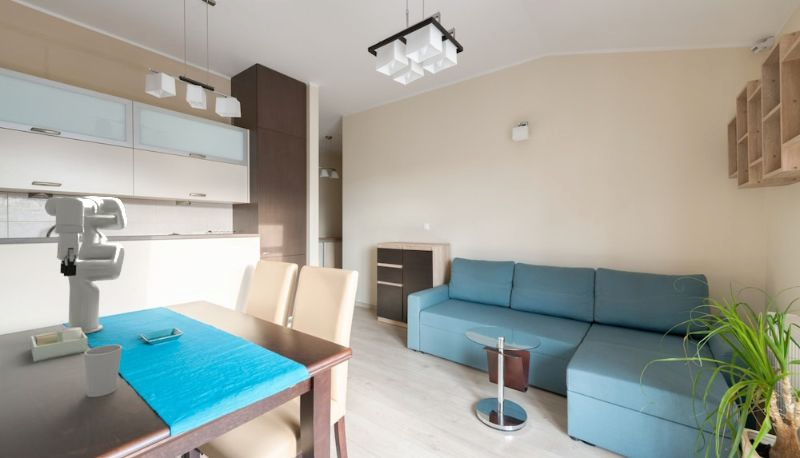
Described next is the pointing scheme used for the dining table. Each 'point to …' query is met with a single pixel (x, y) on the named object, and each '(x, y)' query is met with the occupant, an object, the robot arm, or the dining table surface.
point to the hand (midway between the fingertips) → (68, 274)
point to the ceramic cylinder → (71, 334)
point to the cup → (102, 369)
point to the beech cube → (46, 339)
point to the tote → (58, 347)
